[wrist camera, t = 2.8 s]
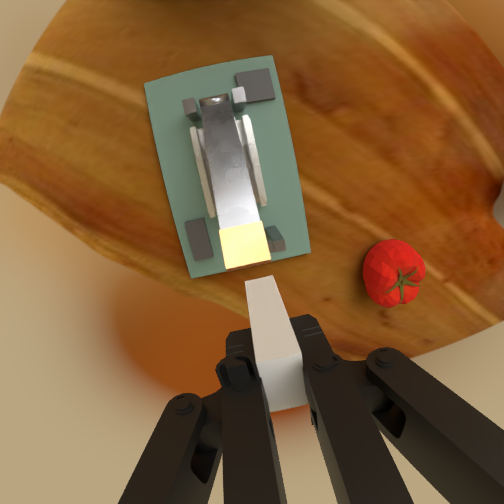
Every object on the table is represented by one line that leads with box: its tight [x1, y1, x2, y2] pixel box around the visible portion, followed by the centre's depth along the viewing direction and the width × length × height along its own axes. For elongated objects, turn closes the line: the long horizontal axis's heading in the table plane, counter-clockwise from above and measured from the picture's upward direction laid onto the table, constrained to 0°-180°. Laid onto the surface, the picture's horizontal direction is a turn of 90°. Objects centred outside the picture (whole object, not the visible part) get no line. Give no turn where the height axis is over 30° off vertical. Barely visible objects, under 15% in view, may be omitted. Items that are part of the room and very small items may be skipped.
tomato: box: [363, 239, 425, 308], centre depth 36 cm, size 9×9×8 cm
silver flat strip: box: [199, 93, 271, 272], centre depth 23 cm, size 18×3×1 cm
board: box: [144, 55, 311, 279], centre depth 33 cm, size 26×16×2 cm, turn 12°
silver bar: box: [182, 87, 286, 253], centre depth 30 cm, size 17×8×6 cm, turn 12°
